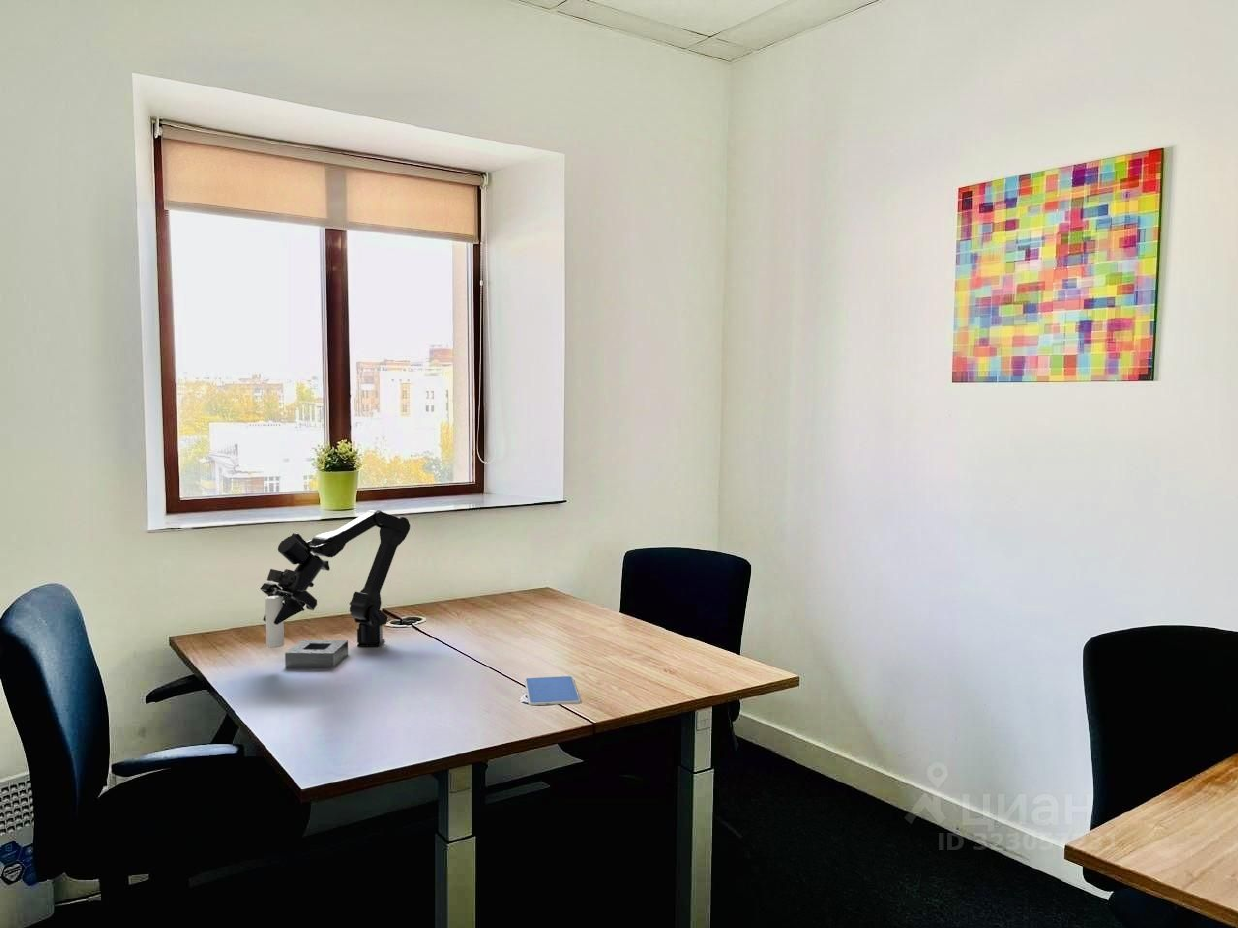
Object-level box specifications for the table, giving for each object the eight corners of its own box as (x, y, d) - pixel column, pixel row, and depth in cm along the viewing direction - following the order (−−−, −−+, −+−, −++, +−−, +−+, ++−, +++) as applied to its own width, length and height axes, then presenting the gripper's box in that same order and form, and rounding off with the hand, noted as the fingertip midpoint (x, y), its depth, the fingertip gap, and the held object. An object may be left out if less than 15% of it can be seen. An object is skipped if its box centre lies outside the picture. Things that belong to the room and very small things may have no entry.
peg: (286, 643, 248) (284, 595, 247) (280, 647, 244) (278, 599, 242) (270, 643, 248) (268, 595, 247) (264, 647, 244) (262, 599, 242)
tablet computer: (581, 705, 221) (581, 699, 221) (528, 707, 219) (528, 702, 219) (572, 680, 240) (572, 675, 240) (524, 682, 238) (524, 677, 238)
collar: (348, 653, 261) (348, 640, 261) (333, 667, 248) (333, 653, 248) (302, 653, 261) (302, 639, 261) (285, 667, 248) (285, 652, 248)
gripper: (265, 553, 252) (229, 600, 245) (306, 561, 241) (269, 610, 233) (291, 576, 259) (257, 623, 252) (332, 585, 248) (298, 634, 240)
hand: (269, 622), depth 244 cm, fingers closed on peg, 4 cm apart
